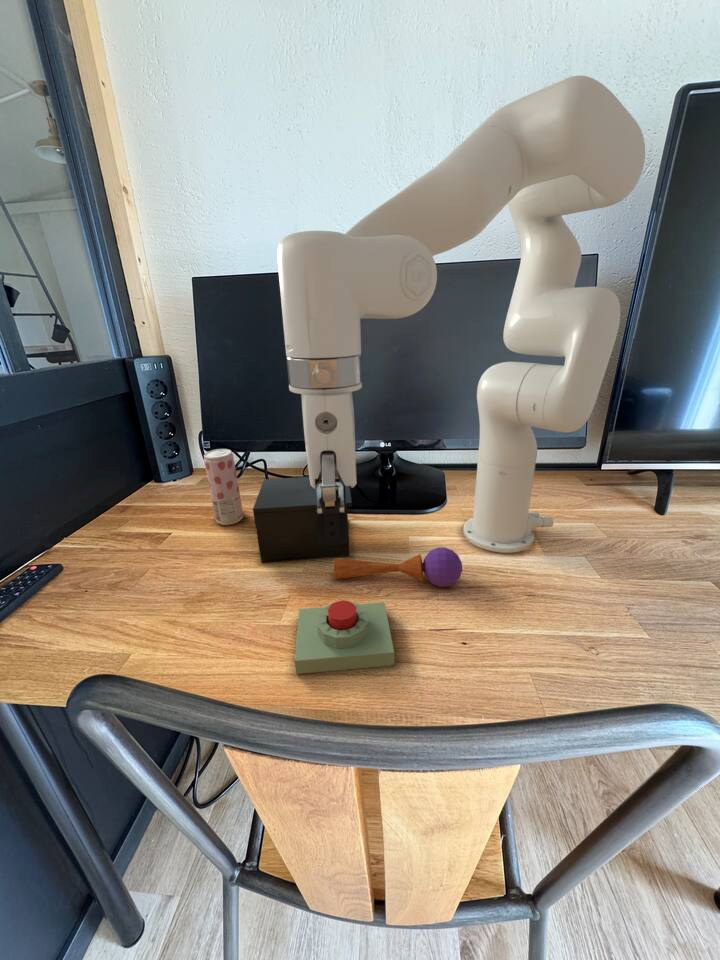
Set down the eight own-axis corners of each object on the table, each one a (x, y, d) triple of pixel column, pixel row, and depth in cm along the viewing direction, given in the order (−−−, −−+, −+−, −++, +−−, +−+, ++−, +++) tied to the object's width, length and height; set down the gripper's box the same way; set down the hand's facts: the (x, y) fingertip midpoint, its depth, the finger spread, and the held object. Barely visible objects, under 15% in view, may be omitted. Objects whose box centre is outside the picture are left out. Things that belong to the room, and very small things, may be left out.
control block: (384, 614, 57) (384, 591, 56) (394, 665, 49) (394, 640, 47) (300, 621, 56) (297, 598, 55) (296, 674, 48) (292, 649, 47)
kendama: (337, 544, 67) (459, 541, 64) (341, 577, 68) (460, 575, 65) (329, 559, 61) (463, 556, 58) (333, 594, 63) (464, 593, 59)
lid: (348, 478, 79) (347, 455, 77) (351, 506, 67) (350, 480, 65) (264, 483, 78) (261, 460, 76) (253, 513, 66) (249, 487, 64)
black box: (346, 521, 82) (344, 478, 79) (349, 556, 71) (347, 507, 67) (270, 527, 82) (264, 483, 78) (261, 563, 70) (253, 513, 66)
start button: (355, 609, 53) (355, 599, 52) (357, 629, 50) (357, 618, 49) (328, 611, 53) (327, 601, 52) (328, 632, 49) (327, 621, 49)
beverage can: (247, 513, 88) (237, 448, 82) (237, 526, 82) (225, 458, 76) (223, 512, 88) (210, 448, 82) (211, 525, 83) (197, 457, 77)
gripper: (368, 387, 33) (370, 561, 40) (357, 363, 49) (360, 490, 56) (276, 390, 33) (294, 565, 39) (295, 365, 49) (306, 492, 55)
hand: (333, 521), depth 47 cm, fingers open, 9 cm apart
